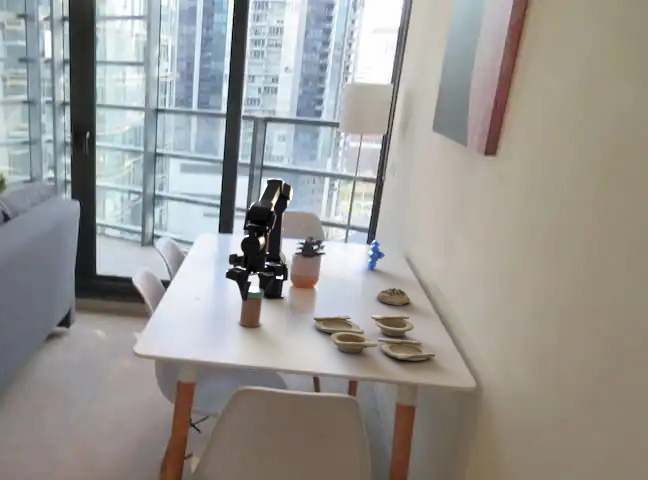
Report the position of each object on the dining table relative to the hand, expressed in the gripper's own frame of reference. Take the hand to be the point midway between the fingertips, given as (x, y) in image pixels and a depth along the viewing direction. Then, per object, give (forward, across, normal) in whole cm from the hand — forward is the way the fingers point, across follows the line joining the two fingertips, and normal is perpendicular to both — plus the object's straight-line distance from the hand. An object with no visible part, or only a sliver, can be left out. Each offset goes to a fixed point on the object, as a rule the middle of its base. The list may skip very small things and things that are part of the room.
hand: (252, 299), depth 218 cm
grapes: (+8, -93, -26) cm, 97 cm away
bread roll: (+8, -62, +7) cm, 63 cm away
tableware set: (+8, -21, +29) cm, 37 cm away
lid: (-3, 0, 0) cm, 3 cm away
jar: (+8, 0, 0) cm, 8 cm away
